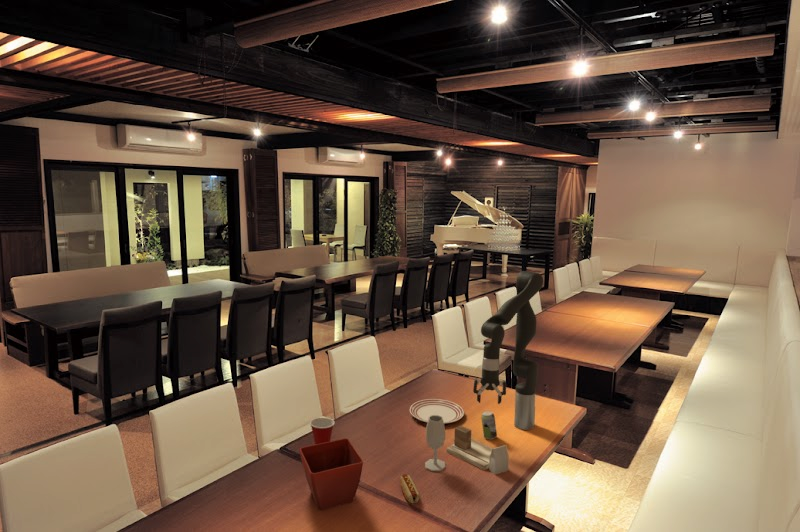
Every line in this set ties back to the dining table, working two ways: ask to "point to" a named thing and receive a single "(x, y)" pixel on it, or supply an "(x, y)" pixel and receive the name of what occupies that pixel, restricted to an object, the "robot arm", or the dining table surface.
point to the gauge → (462, 437)
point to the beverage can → (489, 425)
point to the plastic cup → (322, 429)
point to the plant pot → (332, 472)
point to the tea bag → (499, 460)
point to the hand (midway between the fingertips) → (488, 402)
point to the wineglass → (435, 441)
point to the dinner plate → (436, 410)
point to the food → (409, 489)
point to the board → (473, 454)
